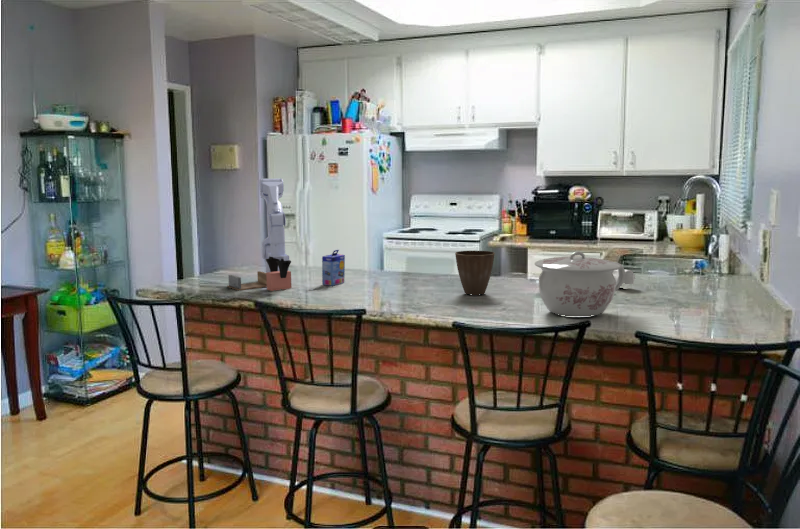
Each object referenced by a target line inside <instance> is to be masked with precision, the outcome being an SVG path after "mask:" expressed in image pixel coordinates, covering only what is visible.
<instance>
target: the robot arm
mask: <svg viewBox="0 0 800 529" xmlns="http://www.w3.org/2000/svg"><path fill="white" fill-rule="evenodd" d="M284 186H285V185H284V179H283V177H282V178H281V177H280V178H260V179H259V195H260V198H261V199H264V201H265V205H266V223H267V224H266V225H267V237H266V238H264V239H263V240H262V241H261V258H262V259H263V260H265V273H267V272H275V271H280V277H281V278H286V276H287V271H290V270H289V267H290V265H291V263H292V261H291V260H290V255H288V254H287V253H286V234H285V232H286V230H285V229H286V224H287V219H286V214H285V211H284V209H283V204H282V202H281V201H279V199H281V198H282V197H283V195H284Z"/></svg>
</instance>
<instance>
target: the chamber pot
mask: <svg viewBox="0 0 800 529" xmlns="http://www.w3.org/2000/svg"><path fill="white" fill-rule="evenodd" d="M534 265H535V266H536V267H538V268H540V269H541V272H540V274H539V275H538V288H539V289H538V290H539V296H540V299H541V300H542V302H543V303H544V305H545V307H546V308H547V310H548V311H549V312H550V313H553V314H554V313H555V315H557V314H559V315H565V316H591V315H597V314H600V313H602V314H603V313H604V312H605V311H606V310H607V309H608V307H609V306H610V305H611V303H612V302H613V300H614V296H615V293H616V292H617V291H618V290H619V288H620V286H621V285H622V284H623V282H624V279H625V270H626V269H625V268H624V266H623V265H622V264H621V263H620V262H619V261H618V262H614V261H612V260H608V259H603V258H600V257H599V258H597V257H590V256H586V254H584V253H583V252H581V251H574V252H572V254H570V256H557V257H556V256H555V257H548V258H544V259H543V258H542V259H539V260H537V261H535V262H534ZM624 269H625V270H624ZM614 270H618V272H619V276H618V280H617V282H616V280H615V278H614V276H613V274H612V273H613V271H614ZM559 315H558V316H559ZM600 315H601V314H600ZM597 316H598V315H597Z"/></svg>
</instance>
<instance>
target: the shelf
mask: <svg viewBox="0 0 800 529" xmlns="http://www.w3.org/2000/svg"><path fill="white" fill-rule="evenodd" d="M256 273H257V281H256V282H247V283H241V289H237V288H234V287H231V286H229V285H227V288H228V287H229V289H231V288H232V290H234V289H235V290H234V291H237V290H238V291H239V290H240V291H247V290H252V289H253V290H254V289H262V287H263V288H267V278H266V271H260V270H259V271H258V270H257V272H256ZM246 289H247V290H246Z"/></svg>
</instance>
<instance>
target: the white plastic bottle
mask: <svg viewBox="0 0 800 529" xmlns="http://www.w3.org/2000/svg"><path fill="white" fill-rule="evenodd" d="M624 270H625V279H624V282H623V283H625V284H633V285H634V282H635V277H636V276H635V274H634V272H633V270H632V269H631V270H630V269H625V268H624ZM612 274H613V276H614V278H615V280H616V282H617V280H618V276H619V272H618V270H614V271H613V273H612ZM621 286H622V285H621Z"/></svg>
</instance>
